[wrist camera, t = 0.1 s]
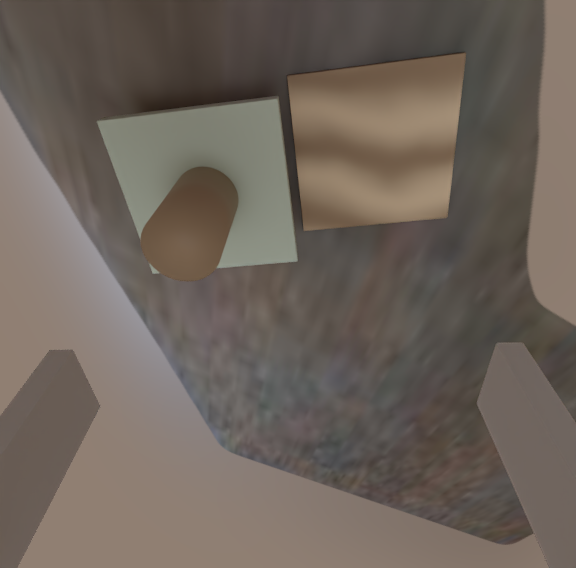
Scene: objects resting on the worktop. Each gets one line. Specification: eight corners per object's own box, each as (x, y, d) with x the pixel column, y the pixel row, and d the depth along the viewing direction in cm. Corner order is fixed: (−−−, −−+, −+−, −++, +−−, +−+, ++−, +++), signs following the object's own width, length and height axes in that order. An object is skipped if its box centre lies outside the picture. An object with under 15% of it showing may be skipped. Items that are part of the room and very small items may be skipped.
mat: (287, 75, 33) (287, 76, 32) (463, 52, 32) (466, 52, 31) (303, 228, 41) (303, 230, 40) (445, 215, 39) (447, 217, 39)
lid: (103, 117, 29) (34, 155, 22) (278, 95, 28) (269, 127, 21) (157, 266, 37) (119, 333, 29) (297, 254, 35) (296, 320, 28)
